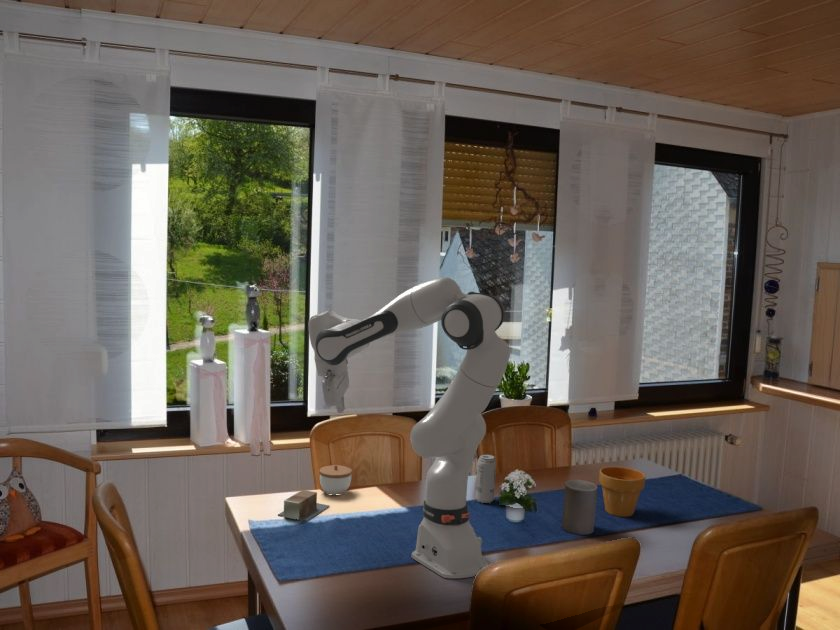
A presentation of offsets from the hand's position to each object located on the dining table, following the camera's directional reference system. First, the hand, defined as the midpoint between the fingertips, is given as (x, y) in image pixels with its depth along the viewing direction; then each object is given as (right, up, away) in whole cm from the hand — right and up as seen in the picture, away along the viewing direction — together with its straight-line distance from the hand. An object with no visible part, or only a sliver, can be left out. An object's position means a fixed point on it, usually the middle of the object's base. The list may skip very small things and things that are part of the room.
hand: (341, 411), depth 217 cm
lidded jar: (-5, -31, +28) cm, 42 cm away
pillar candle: (+71, -37, +6) cm, 80 cm away
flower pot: (+88, -36, +22) cm, 97 cm away
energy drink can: (+44, -33, +27) cm, 62 cm away
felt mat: (-13, -32, +10) cm, 36 cm away
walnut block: (-15, -30, +3) cm, 34 cm away
